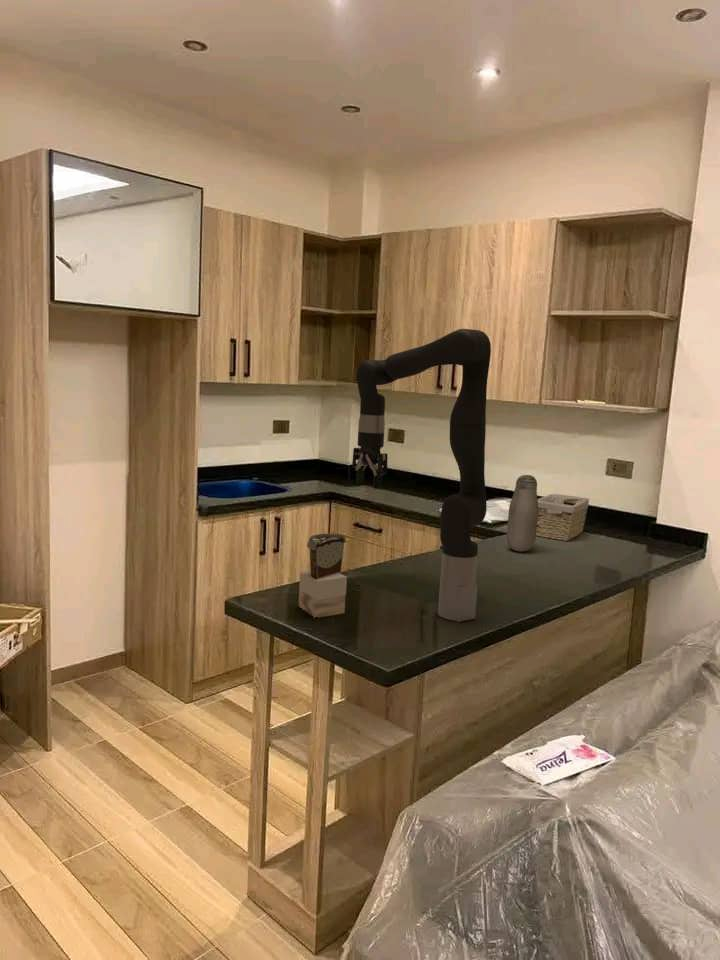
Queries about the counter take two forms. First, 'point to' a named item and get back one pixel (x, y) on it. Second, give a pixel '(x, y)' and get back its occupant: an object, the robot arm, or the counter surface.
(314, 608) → the tower base block
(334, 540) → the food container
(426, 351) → the robot arm
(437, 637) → the counter surface
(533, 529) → the grey bottle
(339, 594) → the tower top block
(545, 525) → the storage basket
